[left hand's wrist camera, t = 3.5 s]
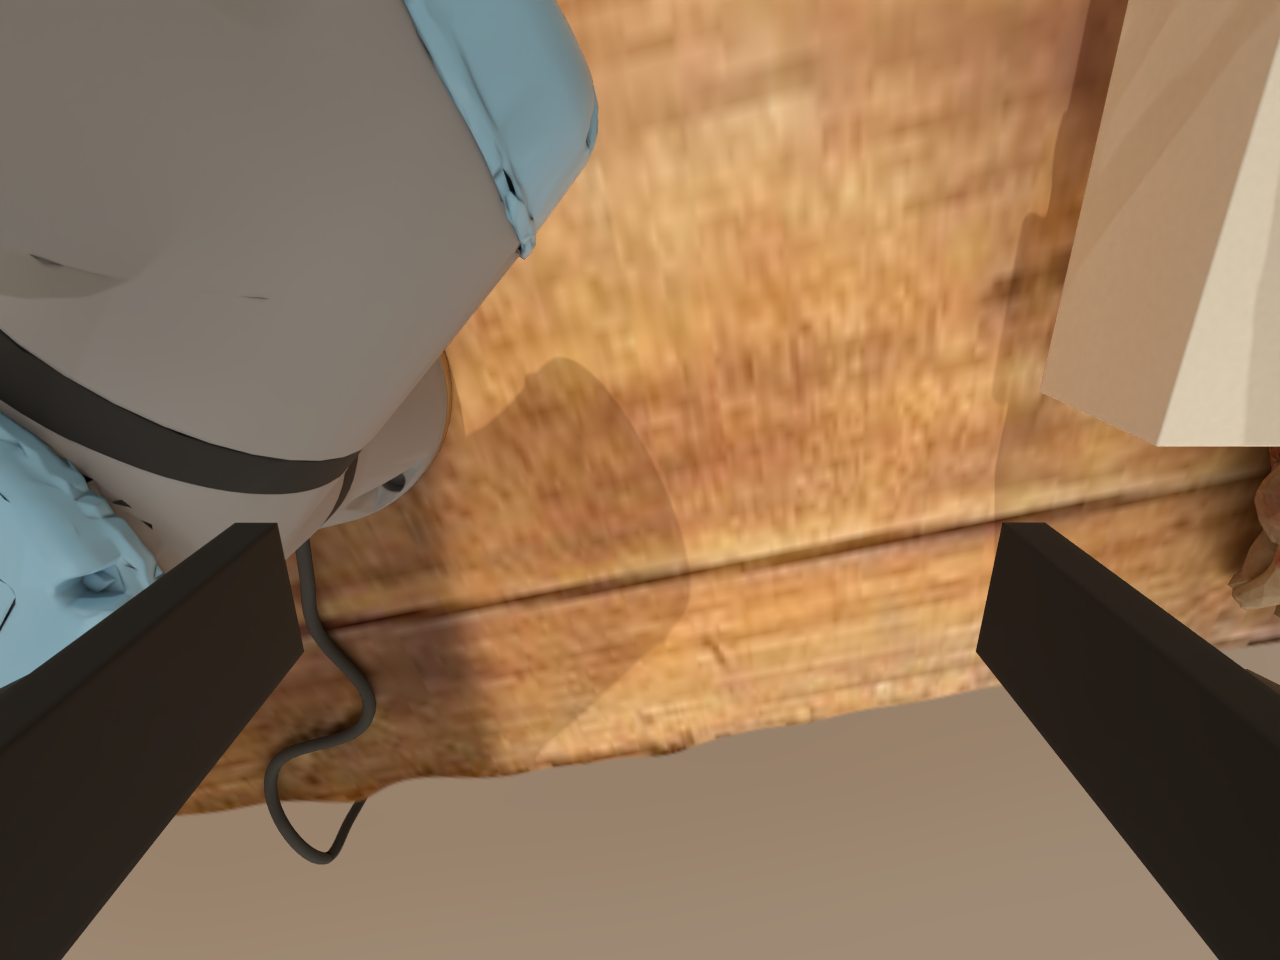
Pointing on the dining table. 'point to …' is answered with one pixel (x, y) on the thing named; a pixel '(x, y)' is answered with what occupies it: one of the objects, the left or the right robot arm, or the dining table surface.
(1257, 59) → the bar
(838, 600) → the dining table surface
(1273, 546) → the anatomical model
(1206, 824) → the left robot arm
